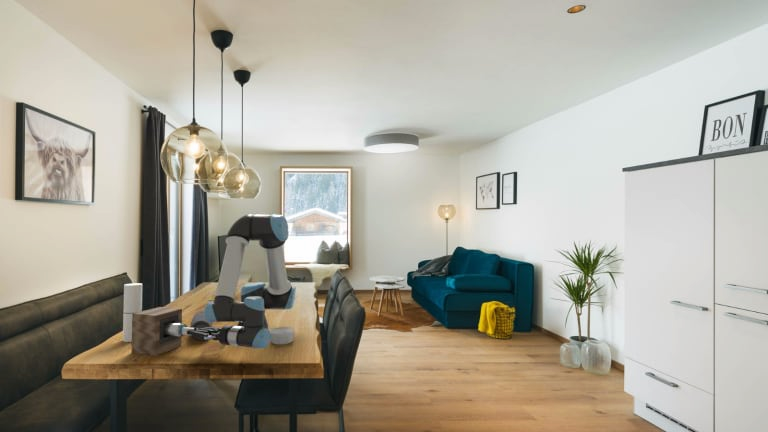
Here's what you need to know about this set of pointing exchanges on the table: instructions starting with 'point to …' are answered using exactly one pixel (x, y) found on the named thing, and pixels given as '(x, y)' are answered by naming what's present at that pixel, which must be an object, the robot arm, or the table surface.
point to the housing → (154, 331)
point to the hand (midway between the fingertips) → (183, 330)
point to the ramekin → (282, 335)
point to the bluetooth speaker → (200, 321)
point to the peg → (173, 329)
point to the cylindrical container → (131, 307)
